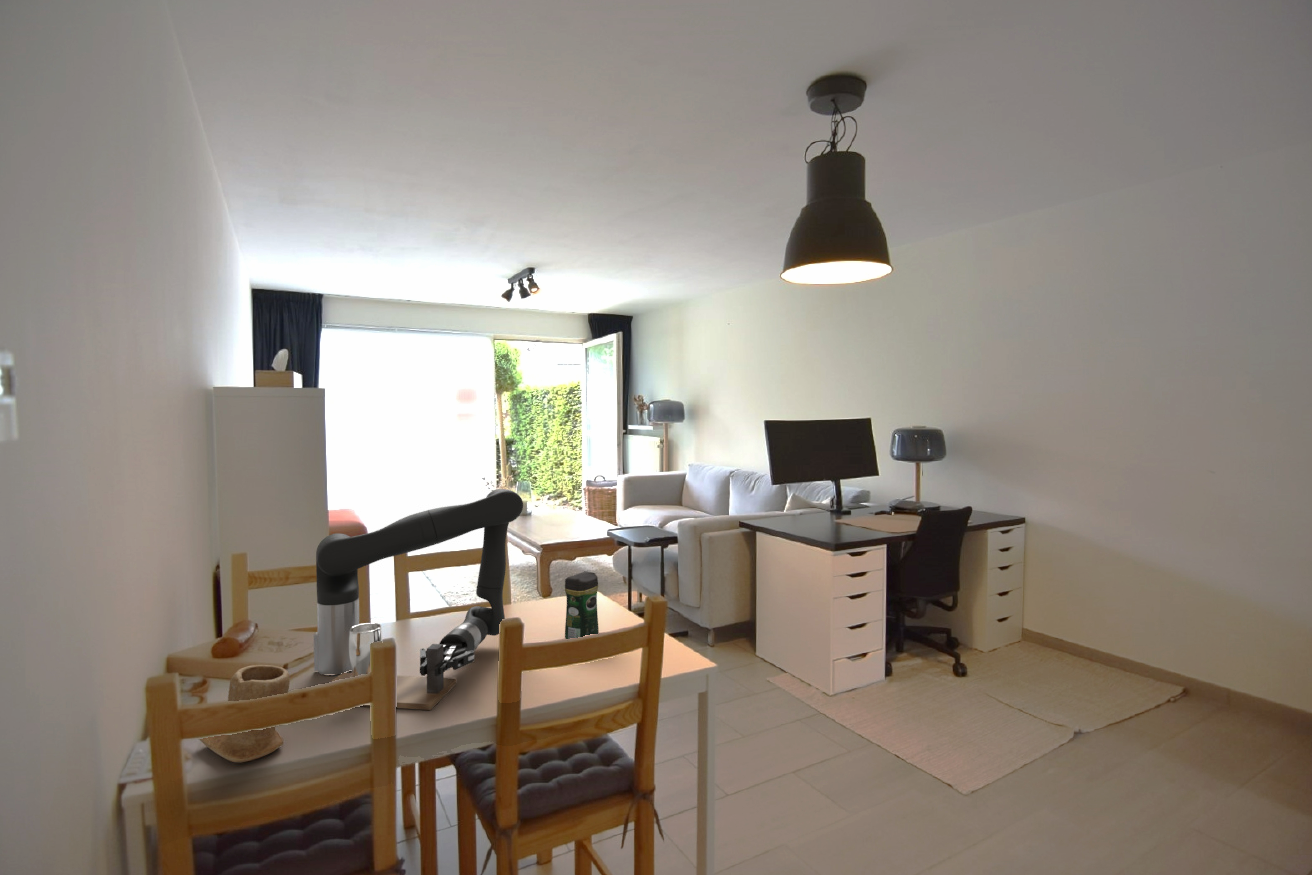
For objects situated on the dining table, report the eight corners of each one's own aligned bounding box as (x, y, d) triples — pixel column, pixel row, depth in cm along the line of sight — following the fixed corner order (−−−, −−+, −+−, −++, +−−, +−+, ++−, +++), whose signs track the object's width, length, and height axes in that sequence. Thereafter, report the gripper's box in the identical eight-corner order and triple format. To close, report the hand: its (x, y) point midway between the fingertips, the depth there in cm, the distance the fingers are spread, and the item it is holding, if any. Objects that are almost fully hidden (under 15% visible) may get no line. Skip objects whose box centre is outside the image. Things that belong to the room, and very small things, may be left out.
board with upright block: (307, 702, 137) (306, 652, 136) (343, 677, 150) (342, 631, 149) (430, 709, 134) (430, 658, 134) (456, 683, 147) (455, 636, 147)
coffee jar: (581, 630, 184) (581, 567, 184) (602, 635, 180) (603, 571, 179) (559, 640, 176) (559, 575, 175) (581, 646, 172) (581, 579, 171)
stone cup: (302, 745, 120) (301, 668, 120) (232, 774, 110) (230, 691, 110) (265, 722, 129) (263, 650, 128) (197, 748, 119) (195, 670, 118)
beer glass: (389, 688, 145) (389, 624, 144) (366, 701, 138) (365, 634, 138) (366, 684, 147) (365, 620, 146) (341, 696, 141) (341, 630, 140)
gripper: (433, 626, 155) (398, 653, 138) (488, 628, 154) (459, 656, 137) (433, 656, 156) (398, 687, 138) (488, 658, 154) (460, 690, 137)
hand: (429, 671), depth 138 cm, fingers closed on board with upright block, 2 cm apart
